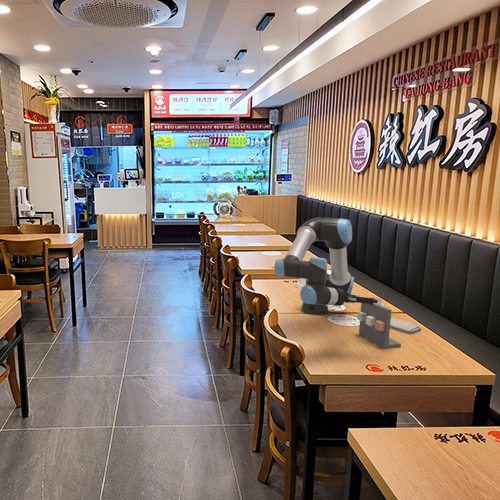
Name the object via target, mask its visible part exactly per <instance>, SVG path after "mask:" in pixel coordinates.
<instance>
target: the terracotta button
mask: <svg viewBox="0 0 500 500" xmlns="http://www.w3.org/2000/svg"><path fill="white" fill-rule="evenodd" d="M375 329H377V330H379V331H384V330H385V322H384V321H382V320H378V321H375Z"/></svg>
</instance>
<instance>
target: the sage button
mask: <svg viewBox="0 0 500 500" xmlns="http://www.w3.org/2000/svg"><path fill="white" fill-rule="evenodd" d="M366 316H367V313H365V312H363V311H362V312H361V311H357V316H356V319H357V320H358V321H359V322H360V321H366Z"/></svg>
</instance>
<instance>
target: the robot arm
mask: <svg viewBox="0 0 500 500" xmlns="http://www.w3.org/2000/svg"><path fill="white" fill-rule="evenodd" d="M352 239H353V226H352V223H351V220H349V219H346V218H335V217H334V218H332V217H320V216H319V217H314V218H311V219H309V220H307V221H305V222H304V223H302V224H301V225H300V226H299V228H298V229H297V232H296V237H295V239H294V241H293V242H292V245H291V246H290V248H289V250H288V251H287V253H286V255H285V256H284V258H277V259H276V260H275V262H274V267H273V268H274V269H273V270H274V274H275V275H276V276H278V277H283V278H291V279H299V278H301V279H306V285H305V286H303V287H302V290H299V296H300V299H301V301H302V304H301V307H300V308H301V309H300V311H301V312H303V313H305V314H308V315H317V316H318V315H319V316H321V315H326V314H328V312H329V308H328V307H329V306H335V307H341V306H342V305H344V303H347V304H349V303H352V304H355V303H357V304H361V303H366V304H370V306H371V305H373V304H376V305H381V303H383V302H382V300H383V298H379V297H377V298H376V297H365V296H360V295H359V294H352V293H353V292H352V291H353V287H354V282H355V277H354V276H351V273H350V272H349V271H348V269H349V268H348V259H347V258H348V254H347V247H348V245H349V244H350V243H351V242H352ZM317 241H318V242H325V246H326V247H327V248H329V249H328V251H329V260H330V270H331V274H328V273H327V269H328V260H327V259H326V258H325V257H324V258H323V257H315V256H311V257H310V258H309V260H304V258H305V255H306V254H307V252H308V250H309V248H310V247H311V245H312V244H313V243H315V242H317Z"/></svg>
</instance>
